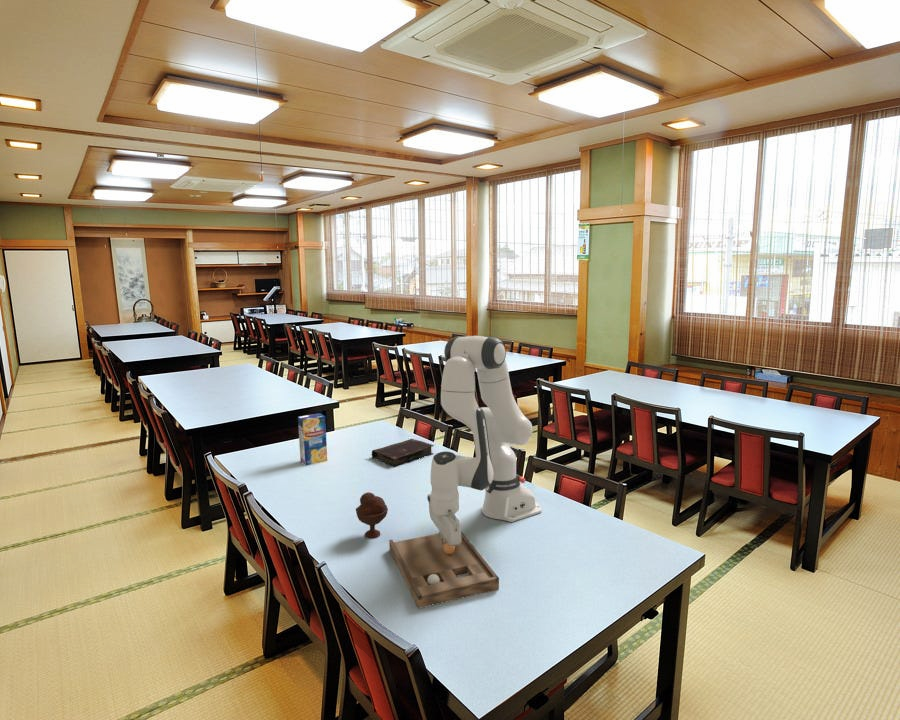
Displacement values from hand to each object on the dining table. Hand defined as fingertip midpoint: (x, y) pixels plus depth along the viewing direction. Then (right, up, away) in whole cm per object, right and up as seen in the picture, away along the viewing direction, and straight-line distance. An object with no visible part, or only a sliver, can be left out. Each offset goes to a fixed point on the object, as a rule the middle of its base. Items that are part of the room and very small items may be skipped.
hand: (445, 544), depth 168 cm
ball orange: (+1, 0, -3) cm, 3 cm away
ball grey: (-3, -5, -16) cm, 17 cm away
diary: (-21, +11, +90) cm, 93 cm away
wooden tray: (-1, -5, -6) cm, 8 cm away
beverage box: (-64, +10, +84) cm, 106 cm away
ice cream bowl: (-25, -2, +14) cm, 29 cm away
